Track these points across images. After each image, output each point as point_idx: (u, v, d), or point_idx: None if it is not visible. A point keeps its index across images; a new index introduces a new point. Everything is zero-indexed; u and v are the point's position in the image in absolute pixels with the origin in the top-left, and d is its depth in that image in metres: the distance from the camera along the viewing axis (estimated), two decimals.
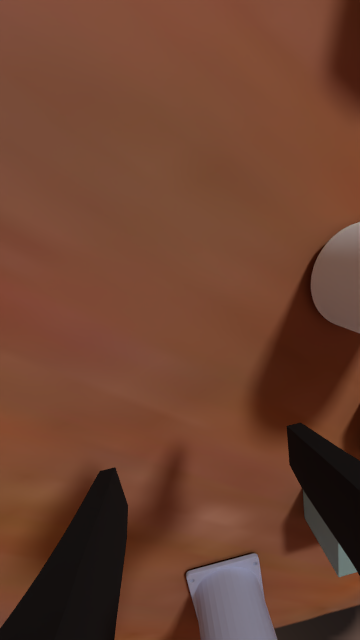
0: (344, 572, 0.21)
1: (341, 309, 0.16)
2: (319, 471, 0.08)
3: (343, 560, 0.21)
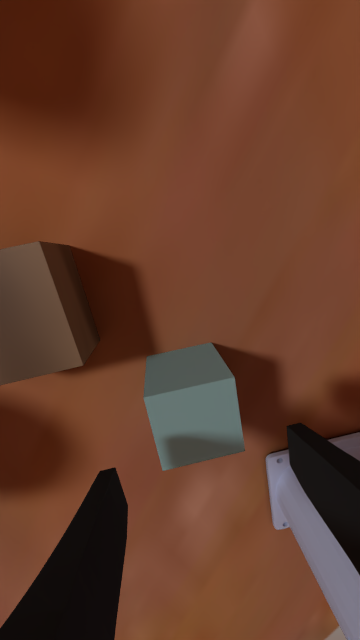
0: (237, 443, 0.13)
1: None
2: (319, 471, 0.08)
3: (205, 454, 0.13)
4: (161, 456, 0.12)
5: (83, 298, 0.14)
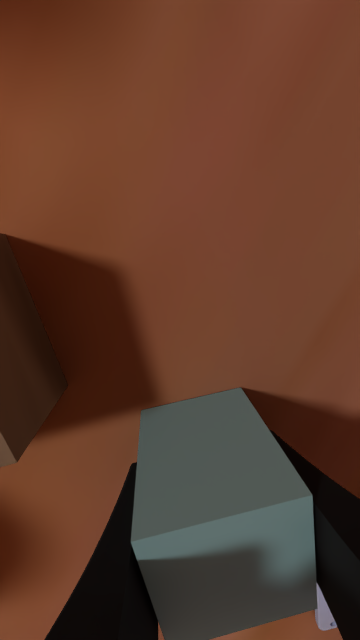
0: (305, 599, 0.07)
1: None
2: None
3: (248, 619, 0.07)
4: (166, 630, 0.07)
5: (32, 323, 0.08)
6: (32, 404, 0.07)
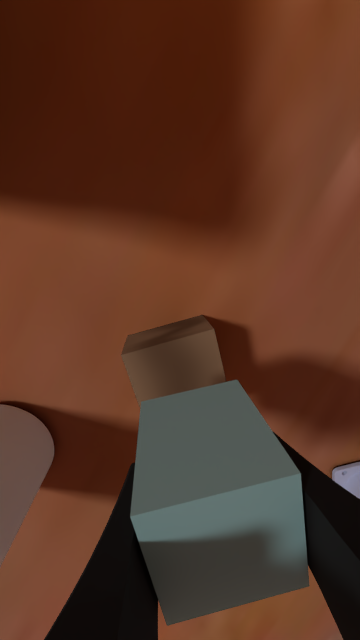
0: (297, 576, 0.07)
1: None
2: None
3: (242, 595, 0.07)
4: (164, 604, 0.07)
5: None
6: None
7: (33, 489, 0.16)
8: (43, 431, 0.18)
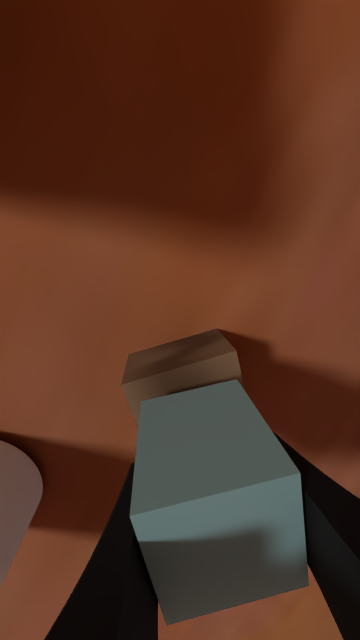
0: (296, 576, 0.07)
1: None
2: None
3: (242, 595, 0.07)
4: (164, 604, 0.07)
5: None
6: None
7: (14, 545, 0.13)
8: (29, 467, 0.16)
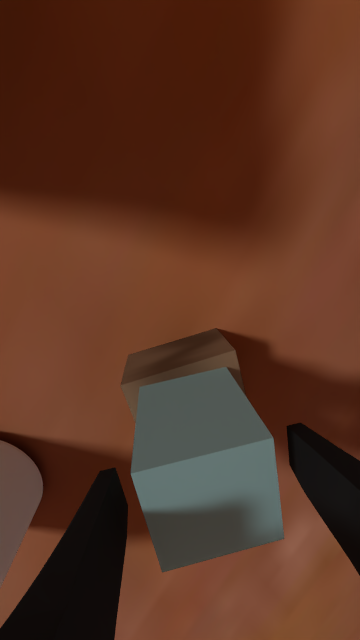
0: (273, 529, 0.08)
1: None
2: (319, 471, 0.08)
3: (226, 546, 0.08)
4: (159, 553, 0.08)
5: None
6: None
7: (14, 545, 0.13)
8: (29, 467, 0.16)
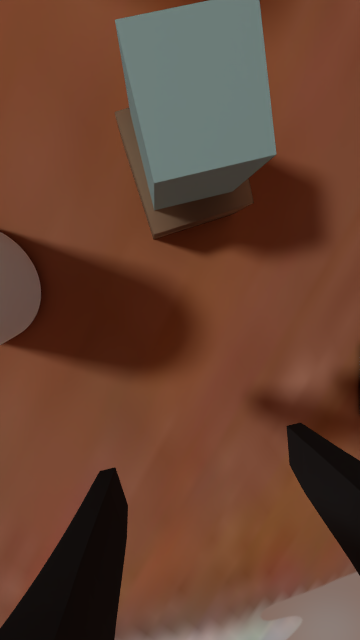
0: (264, 138, 0.08)
1: None
2: (319, 471, 0.08)
3: (218, 154, 0.08)
4: (150, 153, 0.08)
5: None
6: None
7: (12, 300, 0.13)
8: (26, 259, 0.16)
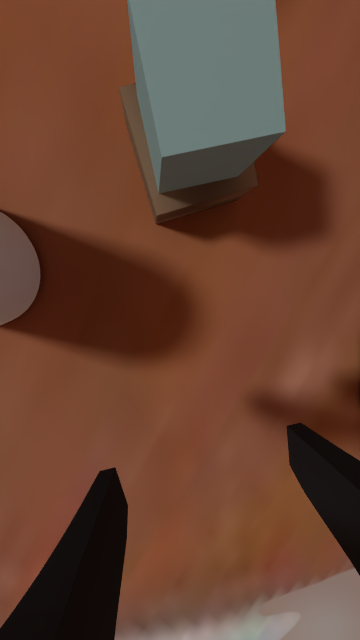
0: (274, 113, 0.08)
1: None
2: (319, 471, 0.08)
3: (226, 129, 0.08)
4: (158, 126, 0.08)
5: None
6: None
7: (10, 277, 0.13)
8: (26, 240, 0.15)
